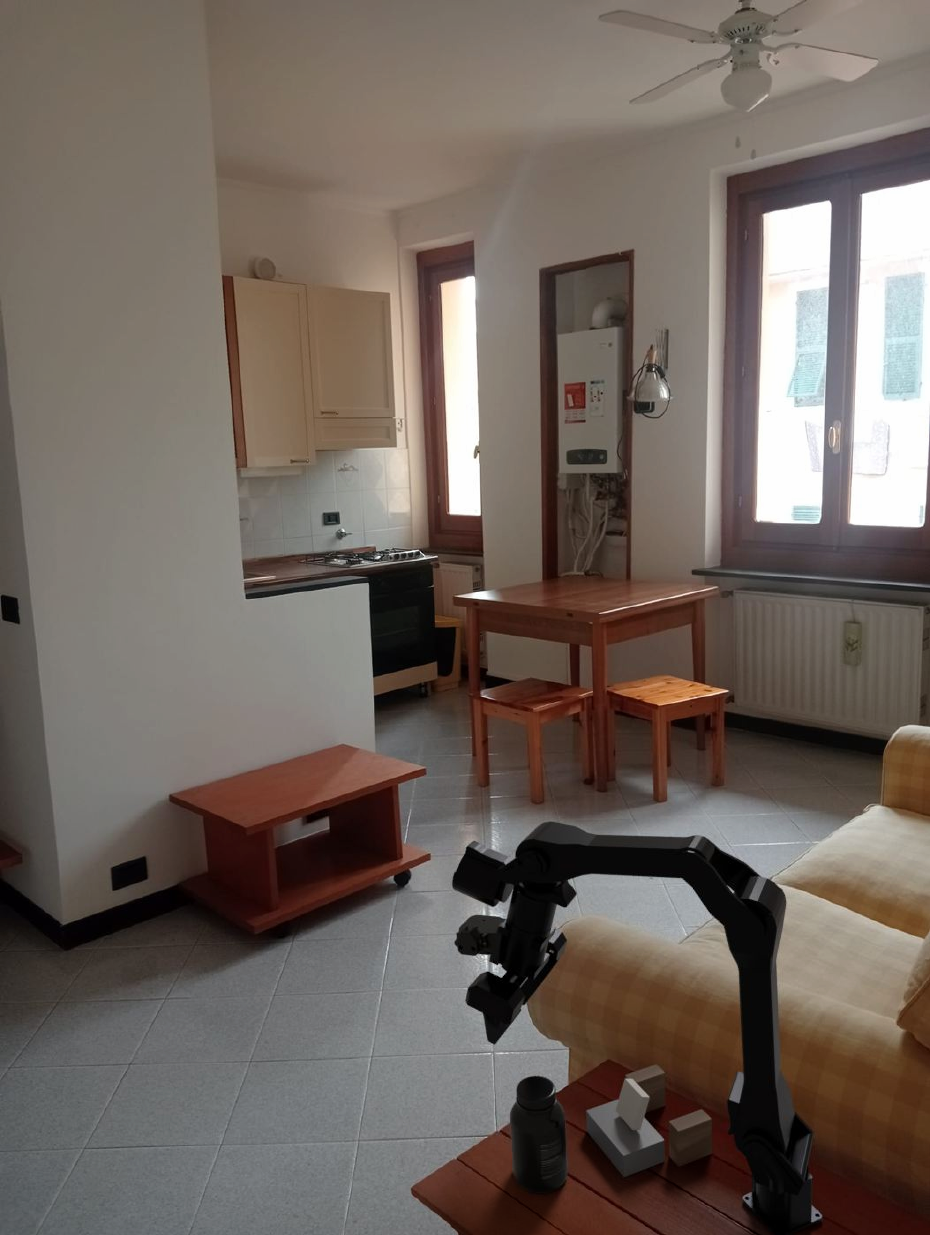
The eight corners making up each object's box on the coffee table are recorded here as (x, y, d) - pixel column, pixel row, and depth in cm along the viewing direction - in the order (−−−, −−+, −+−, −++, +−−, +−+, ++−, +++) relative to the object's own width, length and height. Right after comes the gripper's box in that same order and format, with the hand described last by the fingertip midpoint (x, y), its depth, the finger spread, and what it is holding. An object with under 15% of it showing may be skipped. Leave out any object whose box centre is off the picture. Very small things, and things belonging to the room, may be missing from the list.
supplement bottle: (567, 1155, 121) (564, 1070, 119) (568, 1196, 114) (565, 1107, 112) (513, 1153, 122) (509, 1069, 120) (511, 1194, 115) (507, 1106, 113)
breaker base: (664, 1161, 119) (664, 1139, 119) (623, 1177, 117) (623, 1155, 116) (625, 1116, 127) (625, 1096, 127) (586, 1130, 125) (586, 1110, 124)
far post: (665, 1105, 129) (664, 1072, 128) (634, 1117, 127) (633, 1083, 126) (656, 1096, 131) (656, 1064, 130) (625, 1108, 129) (625, 1075, 128)
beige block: (711, 1154, 120) (711, 1118, 119) (678, 1167, 118) (678, 1131, 117) (701, 1143, 122) (701, 1108, 121) (669, 1156, 120) (668, 1121, 119)
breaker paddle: (640, 1130, 120) (649, 1097, 120) (632, 1130, 120) (642, 1096, 119) (623, 1110, 124) (632, 1078, 123) (615, 1110, 123) (624, 1078, 123)
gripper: (503, 864, 130) (483, 960, 135) (438, 927, 114) (418, 1034, 119) (578, 897, 126) (555, 995, 130) (522, 967, 110) (497, 1076, 114)
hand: (506, 1022), depth 123 cm, fingers open, 9 cm apart
